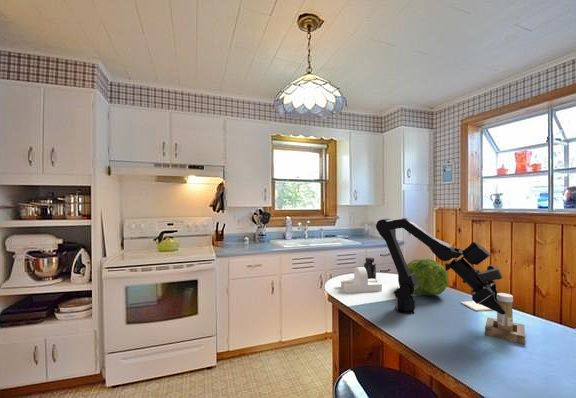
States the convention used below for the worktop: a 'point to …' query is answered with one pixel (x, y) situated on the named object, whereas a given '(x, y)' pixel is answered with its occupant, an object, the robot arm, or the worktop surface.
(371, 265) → the supplement bottle
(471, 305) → the pad
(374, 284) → the bracket
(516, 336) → the socket block
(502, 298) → the sprinkles bottle
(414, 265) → the lettuce
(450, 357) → the worktop surface
